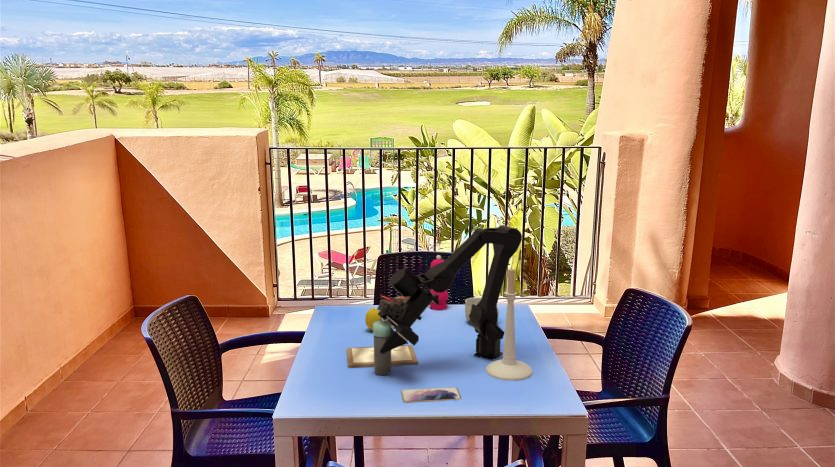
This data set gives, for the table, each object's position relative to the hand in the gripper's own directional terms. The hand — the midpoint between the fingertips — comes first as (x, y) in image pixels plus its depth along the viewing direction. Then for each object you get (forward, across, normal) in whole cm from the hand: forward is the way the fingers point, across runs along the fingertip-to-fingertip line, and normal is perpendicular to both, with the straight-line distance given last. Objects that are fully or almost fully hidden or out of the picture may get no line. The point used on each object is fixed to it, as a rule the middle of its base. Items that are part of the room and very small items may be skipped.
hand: (377, 349), depth 184 cm
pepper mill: (-24, -50, +34) cm, 65 cm away
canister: (+4, 0, +6) cm, 7 cm away
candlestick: (-19, +13, +29) cm, 37 cm away
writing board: (+2, -11, +8) cm, 14 cm away
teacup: (-28, -27, +38) cm, 55 cm away
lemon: (-2, -34, +12) cm, 37 cm away
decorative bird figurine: (-12, -46, +22) cm, 53 cm away
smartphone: (0, +19, +11) cm, 22 cm away
